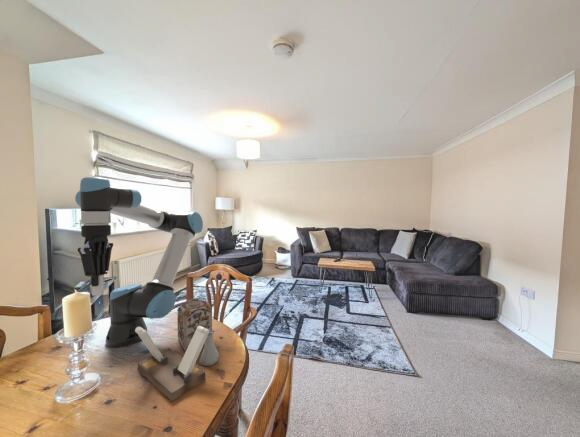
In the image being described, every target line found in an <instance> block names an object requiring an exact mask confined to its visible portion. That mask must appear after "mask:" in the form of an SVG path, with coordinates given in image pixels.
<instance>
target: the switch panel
mask: <svg viewBox="0 0 580 437" xmlns="http://www.w3.org/2000/svg"><path fill="white" fill-rule="evenodd" d="M160 353H161V354H162V356H163V358H161V361H160V362H159V361H158V360H157V359H155V358H154V357H153V356H152V355H151V356H149V357H147V358H144V359H142V360H140V361H137V370H138V371H139V372H140V373H141V375H143V376H144V377H145V378H146V379H147V380H148V381H149V382H150V383H152V384H153V385H154V386H155V388H157V389H158V390H159V391H160V393H162V394H163V395H164V396H166V397H167V399H168V400H170V401H171V402H173V401H175V400H176V399H178V398H180V397H182V396H183V395H184V394H186V393H187V392H189V391H191V389H193V388H194V387H196V386H197V385H199V384H201V383H202V382H204V381H205V380H206V371H205V370H203V369H202V368H200V367H199V366H197V365H196V364H195V365H194V367H193V369H192V372H191V373H188V374H186V375H184V374H183V373H182V372H180V371H179V370H178V367H179V365H180V363H181V361H182V359H183V357H184V356H182V355H181V354H179V353H178V352H176V351H175V350H173V349H172V348H170V347H167V348H165V349H164V350H161V351H160Z"/></svg>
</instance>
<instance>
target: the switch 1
mask: <svg viewBox="0 0 580 437" xmlns="http://www.w3.org/2000/svg"><path fill="white" fill-rule="evenodd" d="M135 332H136V333H137V334H138V335H139V337H140V338H141V340H140V341H142V342H143V344H144V345H145V347H146V348H147V349H148V351H149V353H150V354H151V356H153V357H154V358H155V359H157V360H158V361H159V362H160V361H161V358H163V356H162V354H161V353H160V352H161V351H160V349H159V348H158V346H157V345H156V343H155V342H154V340H153V339H152V337H151V336H150V335H149V333H148V330H147V331H146V330H145V329H143V328H142V327H137V328H136V329H135Z"/></svg>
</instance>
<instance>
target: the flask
mask: <svg viewBox="0 0 580 437" xmlns="http://www.w3.org/2000/svg"><path fill="white" fill-rule="evenodd" d="M202 349H203V350H202V353H201V355H200V358H199V361H198V364H199V365H201V366H203V367H206V366H207V367H208V366H214V365H215V364H216V363H218V361H219V359H220V357H221V356H220V354H219V351H218V349H217V346H216V344H215V341H214V331H212V332H209V334H208V336H207V338H206V340H205V344H204V345H203V348H202Z"/></svg>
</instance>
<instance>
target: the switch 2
mask: <svg viewBox="0 0 580 437" xmlns="http://www.w3.org/2000/svg"><path fill="white" fill-rule="evenodd" d="M208 334H209V330H208V329H206V328H204V327H202V326H198V327H197V329H196V331H195V333H194V335H193V337H192V340H191V342H190V344H189V346H188V348H187V350H186V351H185V353H184V354H183V356H182V357H183V359H182V361H181V363H180V365H179V367H178V370H179V371H180V372H182V373H183V374H184V375H186V374H188V373H191V372H192V369H193V367H194V365H196V362H197V360H198V358H199V356H200V353H201V351H202V349H203V348H204V346H205V344H204V342H205V340H206V338H207V336H208Z"/></svg>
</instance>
